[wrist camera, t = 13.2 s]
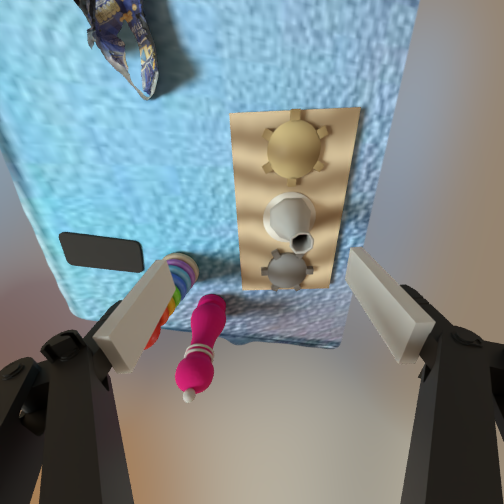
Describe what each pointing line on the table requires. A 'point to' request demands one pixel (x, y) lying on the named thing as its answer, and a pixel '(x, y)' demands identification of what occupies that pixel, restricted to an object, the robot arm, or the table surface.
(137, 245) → the phone
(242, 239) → the gear board
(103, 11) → the snack package
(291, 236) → the flask
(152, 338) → the stacking toy
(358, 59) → the table surface
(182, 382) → the pepper mill
